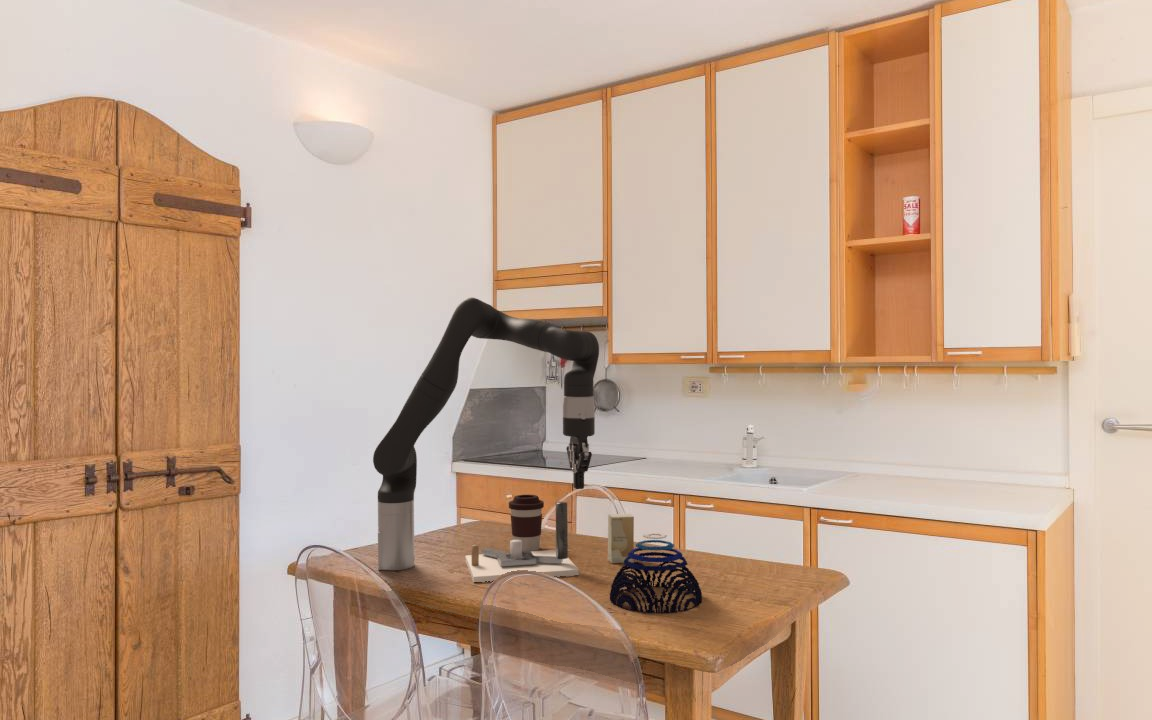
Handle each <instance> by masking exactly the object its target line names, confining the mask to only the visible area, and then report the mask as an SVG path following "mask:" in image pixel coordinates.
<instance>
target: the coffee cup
mask: <svg viewBox="0 0 1152 720" xmlns="http://www.w3.org/2000/svg"><path fill="white" fill-rule="evenodd" d="M544 503H545V502H544V500H542V499H540V498H539V496H538V495H537V494H518V495H515V496H514V497H513V500H510V501H508V508H509V509H510V525H511V527H510V528H511V535H512V540H521V541H522V552H525V551H539V549H540V548H541V547H540V546H541V544H540V543H541V534H542V522H543V514H542V509H543V508H544V507H545V504H544Z"/></svg>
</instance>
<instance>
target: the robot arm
mask: <svg viewBox="0 0 1152 720" xmlns="http://www.w3.org/2000/svg"><path fill="white" fill-rule="evenodd" d="M471 337H474V338H476V339H483V340H484V339H485V340H498V341H505V342H506V341H507V342H510V343H511V342H512V343H515V344H518V345H520V346H523V347H527V348H529V349H532V350H537V351H540V352H544V353H549V354H551V355H553V356H555V357H557V358H560V359H562V360H566V361H571V362H572V367H571V370H569V371H568V372H566V373H565V375H564V378H563V402H562V435H564V436H566V437H570V439H569V443H568V446H566V449H565V450H566V452H567V453H566V454H567V458H568V464H569V469H571V471H572V473H573V474H572V475H573V477H572V478H573V488H574V489H575V490H583V489H584V488H585V473H586V472H588V471H589V468H590V467H589V466H590V464H591V463H590V462H591V459H592V455H593V454H592V453H593V452H591V451H590V444H589V443H588V441H589V440H588V437H591V436H592V437H593V436H594V435H595V427H596V426H595V423H596V422H595V419H596V418H595V417H596V416H595V415H596V413H595V412H596V411H595V399H594V379H595V375H596V370H597V365H598V363H599V362H598V361H599V355H600V344H599V340H598V339H597V337H596V335H595V334H593V333H592V332H590V331H584V330H580V331H579V330H572V329H571V330H570V329H564V328H562V327H560V326H559V325H556V324H554V323H549V322H546V321H542V320H538V319H531V318H518V317H514V316H512V315H509V314H507V313H505V312H502V311H500V310H498V309H496V308H495V307H493V306H492V305H491V304H489V303H488V302H487V303H486V302H484V301H482V300H481V299H478V298H476V297H467V298H465V299H463V300H462V301H461V302H460V303H459V304H458V305H457V307H456V308H455V309H454V312H453V313H452V316H451V318H450V320H449V322H448V325H447V327H446V329H445V331H444V334H443V335H442V337H441V339H440V342H439V343H438V345H437V347H436V349H435V350H434V352H433V354H432V356H431V358H430V360H429V361H428V364H427V365H426V367H425V368H424V370H423V372H422V373H421V374H420V376H419V378H418V379H417V382H416V383H415V385H414V387H413V388H412V391H411V392H410V394H409V396H408V398H407V399H406V401H405V403H404V405H403V407H402V409H401V411H400V413H399V415H398V416H397V417H396V418H397V419H396V420H395V421H394V423H392V424H393V425H392V426H391V427H390V428H389V430H388V432H387V433H386V434H385V435H384V437H382V439H381V441H380V442H379V444H377V446H376V448H375V450H374V452H373V456H372V458H373V459H372V462H373V466H374V469H375V470H376V472H377V473H378V474H380V475H382V482H381V485H380V487H379V489H378V490H377V557H378V558H377V570H379V571H380V570H381V571H382V570H384V571H399V570H402V571H403V570H406V569H410V568H413V567H414V566H415V565H416V564H415V563H416V562H415V560H416V559H415V557H416V556H415V491H416V488H417V487H416V486H417V474H418V473H417V470H418V468H417V467H418V463H417V462H418V458H417V452H416V451H417V450H416V448H415V444H416V443H417V441H418V439H419V437H420V436H421V434H422V433H423V432H424V431H425V429H426V428H427V427H428V426H429V425H430V424H431V423H432V422H434V421H433V420H435V418H437V417H438V415H439V414H440V413H441V412H442V410H443V409H444V407H445V406H446V405H447V403H448V401H449V399H450V397H452V394H453V393H454V391H455V389H456V386H457V384H458V379H459V370H460V369H459V368H460V367H459V366H460V360H461V355H462V353H463V350H464V348H465V347H466V345H467V343H468V341H469V340H470V339H471Z"/></svg>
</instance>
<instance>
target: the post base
mask: <svg viewBox="0 0 1152 720" xmlns="http://www.w3.org/2000/svg"><path fill="white" fill-rule="evenodd" d="M479 547H480V546H479V544H472V545H471V554H467V555H465V564H466V565H467V568H468V572H469V574H471V575H470V577H471V580H472V582H482V583H492V581H493V580H494V579H496V578H497V577H499V576H501V575H502V574H505V573H507V572H511V571H517V570H528V571H536V572H542V573H547V574H549V575H554V576H557V577H556V578H561V577H560V576H566V577H575V576H574V575H579V576H580V569H579V568H578V567H577V566H576V565H575V563H573V561H572V560H571V559H570V558H569V557H568V558H567V559H563V562H562V563H536V564H529V565H514V566H501V565H500V563H499V562H498V560H497V558H495V557H491V556H487V555H483V554H480V553H479V551H480V550H479V549H480V548H479ZM509 552H510V559H518V558H522V541H521V540H513V539H512V540H510V541H509ZM531 553H532V554H533V555H534V556H555V557H556V549H545V550H536V551H531ZM485 581H487V582H485ZM488 581H490V582H488Z"/></svg>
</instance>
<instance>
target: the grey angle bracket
mask: <svg viewBox="0 0 1152 720" xmlns="http://www.w3.org/2000/svg"><path fill="white" fill-rule="evenodd" d="M568 519H569V518H568V502H567V501H557V502H555V550H556V557H555V556H534V555H533V554H532V553H531V551H525V552H522V558H518V559H510V551H508V552H507V551H504V550H503V551H502V550H498V549H494V548H490V547H486V548H481V549H480V551H481V552H480V553H481V554H483V555H487V556H491V557H495V558H497V560H498V562H499V563H500V565H501V566H514V565H529V564H536V563H562V562H563V559H567V558H569V550H568V549H569V547H568V546H569V545H568V543H569V542H568V541H569V535H568V533H569V531H568V530H569V529H568V528H569V527H568V525H569V524H568Z"/></svg>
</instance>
